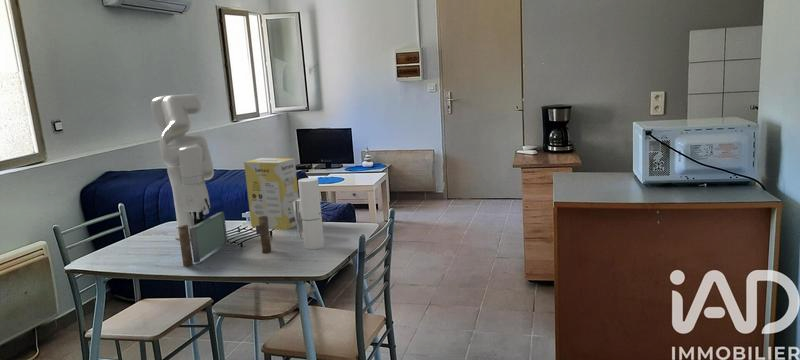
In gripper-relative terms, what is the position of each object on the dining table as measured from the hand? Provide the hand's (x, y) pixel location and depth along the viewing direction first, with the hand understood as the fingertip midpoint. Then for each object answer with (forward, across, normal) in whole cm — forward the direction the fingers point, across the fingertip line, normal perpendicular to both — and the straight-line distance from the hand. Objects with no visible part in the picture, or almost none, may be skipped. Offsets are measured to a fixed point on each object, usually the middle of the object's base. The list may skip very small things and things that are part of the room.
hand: (199, 228), depth 213 cm
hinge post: (+9, +7, -13) cm, 18 cm away
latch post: (+9, +25, +7) cm, 27 cm away
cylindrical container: (+9, +38, +18) cm, 43 cm away
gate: (+8, +6, -1) cm, 10 cm away
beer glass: (+9, +27, +27) cm, 39 cm away
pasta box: (+9, +3, +38) cm, 39 cm away
